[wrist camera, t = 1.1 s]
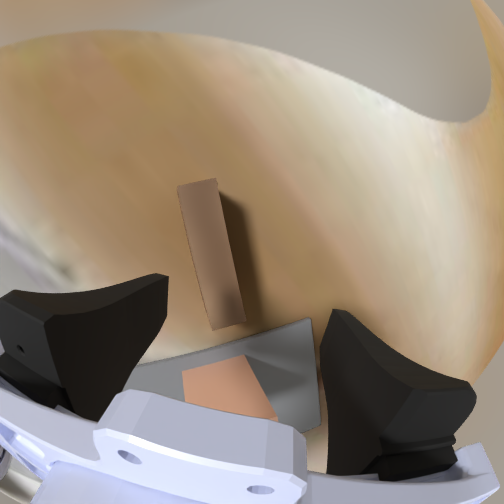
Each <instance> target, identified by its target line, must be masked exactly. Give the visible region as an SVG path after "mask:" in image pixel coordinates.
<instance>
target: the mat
mask: <svg viewBox="0 0 504 504" xmlns="http://www.w3.org/2000/svg"><path fill="white" fill-rule="evenodd" d="M240 355H245V357H246V359H247V361H248V363H249V365H250V367H251V369H252V371H253V373H254V374H255V376H256V378H257V380H258V382H259V384H260V386H261V388H262V389H263V391H264V393H265V395H266V397H267V399H268V400H269V402H270V404H271V406H272V408H273V410H274V411H275V413H276V415H277V417H278V422H280V423H283V424H287V425H290V426H292V427H294V428H295V429H296V430H297V431H298V432H299V433H300V434H301V433H303V432H306V431H308V430H310V429H313V428H315V427H317V426H320V425H321V418H320V405H319V393H318V382H317V371H316V361H315V352H314V343H313V334H312V326H311V319H310V318H309V317H308V318H305V319H302V320H299V321H296V322H293V323H290V324H287V325H284V326H281V327H278V328H275V329H272V330H269V331H266V332H263V333H260V334H256V335H253V336H250V337H247V338H243V339H240V340H236V341H233V342H229V343H226V344H222V345H219V346H215V347H211V348H208V349H204V350H200V351H196V352H192V353H188V354H184V355H180V356H176V357H172V358H168V359H163V360H159V361H155V362H150V363H145V364H141V365H136V366H135V368H134V369H133V371H132V373H131V375H130V377H129V379H128V380H127V382H126V384H125V386H124V389H123V391H122V392H124V391H126V390H129V389H135V390H141V391H147V392H154V393H157V394H160V395H164V396H167V397H170V398H174V399H177V400H181V401H184V402H185V396H184V388H183V378H182V371H185V370H189V369H193V368H197V367H201V366H205V365H208V364H212V363H216V362H220V361H223V360H227V359H230V358H234V357H237V356H240Z"/></svg>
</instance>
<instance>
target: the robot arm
mask: <svg viewBox="0 0 504 504" xmlns="http://www.w3.org/2000/svg"><path fill="white" fill-rule="evenodd" d="M168 281H169V276H166V275H161V274H157V273H155V274H150V275H146V276H143V277H139V278H136V279H133V280H130V281H127V282H124V283H120V284H116V285H113V286H109V287H105V288H101V289H96V290H90V291H84V292H74V293H36V292H28V291H21V290H13V291H11V292H9V293H8V294H6V295H4V296H3V297H1V298H0V480H1V479H2V478H3V477H4V476H5V474H6V473H7V471H8V469H9V467H10V464H11V460H12V456H14V457H15V458H16V459H17V460H18V461H19V462H20V463H22V464H23V465H24V466H25V467H26V468H28V469H29V470H30V471H31V472H33V473H34V474H35V475H37V476H38V477H39V478H40V479H42V480H43V482H42V484H41V485H40V487H39V489H38V490H37V492H36V494H35V495H34V497H33V499H32V500H31V502H30V504H479V503H481V502H482V501H484V500H485V499H486V498H488V497H489V496H490V495H492V494H493V493H494V492H495V491H497V490H498V489H499V487H500V485H499V482H498V480H497V477H496V475H495V473H494V470H493V468H492V466H491V463H490V461H489V459H488V457H487V455H486V453H485V451H484V449H483V446H482V444H481V443H480V442H478V443H474V444H471V445H467V446H464V447H461V448H459V449H458V450H456V451H455V452H454V449H453V447H452V445H454V444H455V443H456V439H455V437H454V433H455V432H456V431H457V430H458V428H459V427H460V426H461V425H462V424H463V423H464V421H465V420H466V419H467V417H468V416H469V415H470V413H471V412H472V411H473V408H474V406H475V404H476V398H477V396H476V394H475V392H474V390H473V388H472V387H471V385H470V384H469V383H468V382H467V381H464V380H460V379H456V378H453V377H449V376H446V375H443V374H440V373H438V372H435V371H432V370H430V369H428V368H426V367H423V366H421V365H419V364H417V363H416V362H414V361H412V360H410V359H408V358H406V357H405V356H403V355H402V354H400V353H398V352H397V351H395V350H394V349H392V348H391V347H390V346H388V345H387V344H386V343H384V342H383V341H382V340H381V339H379V338H378V337H377V336H376V335H374V334H373V333H372V332H371V331H370V330H369V329H367V328H366V327H365V326H364V325H363V324H362V323H361V322H360V321H358V320H357V319H356V318H355V317H354V316H353V315H351V314H350V313H349V312H347V311H344V310H338V309H333V310H332V313H331V316H330V319H329V322H328V325H327V328H326V331H325V333H324V336H323V339H322V342H321V344H320V367H321V373H322V378H323V384H324V389H325V395H326V401H327V408H328V459H327V472H326V474H324V473H319V472H314V471H309V470H307V451H306V438H305V437H304V436H303V435H302V434H300V433H299V432H298V431H297V430H296V429H295V428H294V427H292V426H290V425H287V424H283V423H280V422H276V421H273V420H270V419H265V418H259V417H253V416H247V415H241V414H236V413H231V412H226V411H221V410H217V409H212V408H208V407H204V406H200V405H196V404H192V403H188V402H184V401H181V400H177V399H174V398H170V397H167V396H164V395H160V394H157V393H154V392H147V391H141V390H135V389H129V390H126V391H124V392H122V391H123V389H124V386H125V384H126V382H127V380H128V379H129V377H130V375H131V373H132V371H133V369H134V368H135V366H136V365H137V363H138V362H139V360H140V359H141V357H142V356H143V355H144V353H145V352H146V350H147V349H148V347H149V346H150V345H151V343H152V342H153V340H154V339H155V337H156V336H157V335H158V333H159V331H160V329H161V327H162V326H163V323H164V321H165V319H166V317H167V302H168Z"/></svg>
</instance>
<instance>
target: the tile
mask: <svg viewBox="0 0 504 504" xmlns="http://www.w3.org/2000/svg"><path fill="white" fill-rule="evenodd" d="M182 378H183V388H184V396H185V402H188V403H192V404H196V405H200V406H204V407H208V408H212V409H217V410H221V411H226V412H231V413H236V414H241V415H247V416H253V417H259V418H265V419H270V420H273V421H276V422H278V417H277V415H276V413H275V411H274V410H273V408H272V406H271V404H270V402H269V400H268V399H267V397H266V395H265V393H264V391H263V389H262V388H261V386H260V384H259V382H258V380H257V378H256V376H255V374H254V373H253V371H252V369H251V367H250V365H249V363H248V361H247V359H246V357H245V355H240V356H237V357H234V358H230V359H227V360H223V361H220V362H216V363H212V364H208V365H205V366H201V367H197V368H193V369H189V370H185V371H182Z"/></svg>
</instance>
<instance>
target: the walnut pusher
mask: <svg viewBox="0 0 504 504" xmlns="http://www.w3.org/2000/svg"><path fill="white" fill-rule="evenodd" d="M177 193H178V198H179V202H180V207H181V212H182V216H183V221H184V225H185V230H186V234H187V239H188V243H189V247H190V251H191V255H192V260H193V264H194V268H195V272H196V276H197V279H198V283H199V287H200V291H201V295H202V298H203V302H204V306H205V309H206V312H207V315H208V318H209V321H210V324H211V327H212V330H217V329H221V328H224V327H228V326H231V325H235V324H238V323H242V322H245V321H246V316H245V312H244V308H243V303H242V299H241V294H240V290H239V285H238V281H237V276H236V272H235V267H234V263H233V258H232V253H231V249H230V244H229V239H228V235H227V230H226V225H225V220H224V216H223V211H222V206H221V201H220V196H219V191H218V186H217V181H216V178H213V179H208V180H204V181H199V182H194V183H190V184H185V185H181V186H177Z"/></svg>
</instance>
